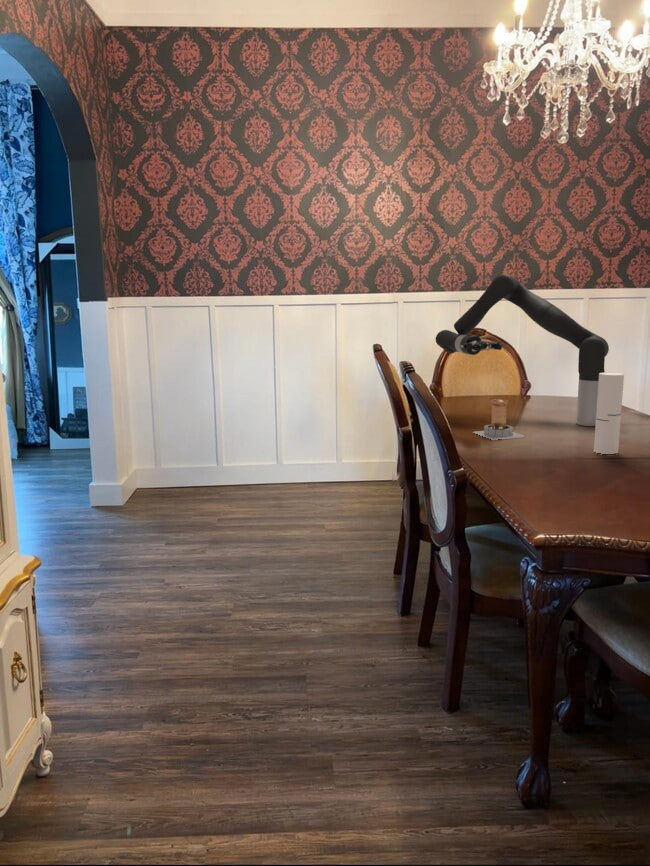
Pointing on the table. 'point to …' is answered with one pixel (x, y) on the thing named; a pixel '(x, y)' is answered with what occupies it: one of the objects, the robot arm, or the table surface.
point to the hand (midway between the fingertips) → (490, 347)
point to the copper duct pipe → (498, 413)
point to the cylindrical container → (608, 413)
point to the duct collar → (499, 433)
